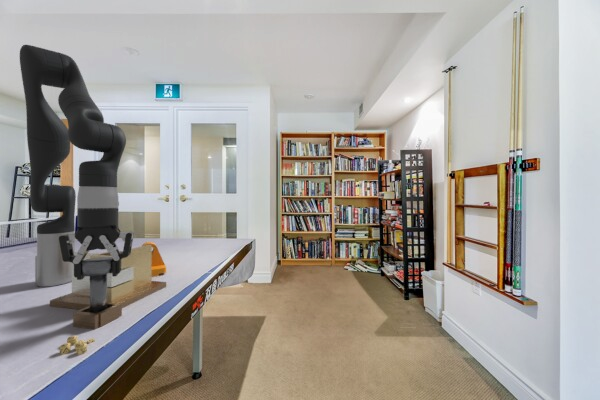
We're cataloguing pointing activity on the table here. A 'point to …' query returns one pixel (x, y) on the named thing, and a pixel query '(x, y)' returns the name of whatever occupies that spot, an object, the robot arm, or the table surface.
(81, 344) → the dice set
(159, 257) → the bracket
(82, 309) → the hinge base
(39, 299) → the table surface
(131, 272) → the hinge leaf
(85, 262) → the hinge pin
